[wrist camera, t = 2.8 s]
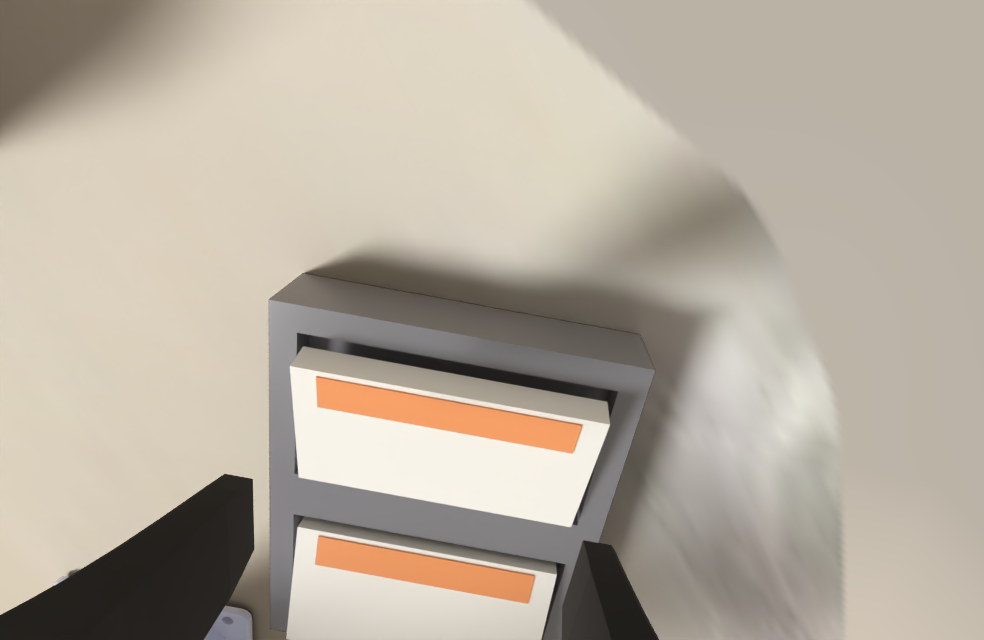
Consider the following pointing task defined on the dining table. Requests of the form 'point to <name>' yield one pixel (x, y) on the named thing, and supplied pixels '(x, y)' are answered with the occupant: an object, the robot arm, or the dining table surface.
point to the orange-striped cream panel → (411, 588)
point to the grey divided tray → (458, 350)
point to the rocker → (444, 436)
